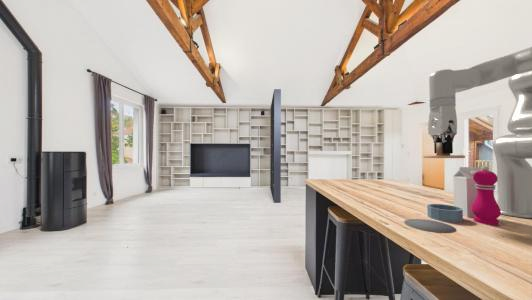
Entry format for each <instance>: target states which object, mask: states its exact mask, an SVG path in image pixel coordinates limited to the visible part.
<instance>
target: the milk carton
mask: <svg viewBox="0 0 532 300" xmlns="http://www.w3.org/2000/svg"><path fill="white" fill-rule="evenodd" d="M477 171H482V169H481V167H480V166H472V167H471V166H469V167H468V166H464V167H463V166H459V169H458V171H457V172H456V173H455V174H454V175H453V183H452V184H453V206H456V207H460V208H462V209H463V217H465V218H473V219H474V216H476V215H475V214H474V213H473V212H472V205H473V203H474V201H475V199H476V197H477V188H475V187H476V185H475V184H477V183H476V182H475V181H474V179H473V175H474V174H475V173H476V172H477Z"/></svg>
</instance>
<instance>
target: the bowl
mask: <svg viewBox="0 0 532 300" xmlns="http://www.w3.org/2000/svg"><path fill="white" fill-rule="evenodd" d="M426 210H427V217H428V218H430V219H431V220H434V221H438V222H444V223H445V222H446V223H458V224H459V223H463V222H464V216H463V209H462V208H460V207H456V206H454V205H451V204H444V203H443V204H442V203H429V204H427V209H426Z"/></svg>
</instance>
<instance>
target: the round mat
mask: <svg viewBox="0 0 532 300" xmlns="http://www.w3.org/2000/svg"><path fill="white" fill-rule="evenodd" d="M403 223H404V225H406V226H408V227H410V228H412V229H416V230H419V231H422V232H427V233H428V232H429V233H435V234H436V233H437V234H452V233H456V232H457V228H456V227H455V226H452V225H450V224H447V223H445V222H442V221H438V220H433V219H423V218H411V219H410V218H409V219H406V220H404V222H403Z"/></svg>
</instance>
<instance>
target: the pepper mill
mask: <svg viewBox="0 0 532 300" xmlns="http://www.w3.org/2000/svg"><path fill="white" fill-rule="evenodd" d="M480 170H481V171H477V172H476V173H475V174H474V175H473V179H474V181H475V182H476V183H477V184H475V185H476V187H475V188H477V197H476V199H475V201H474V203H473V205H472V212H473V213H474V214H475V215H476V216H474V218H473V221H474V222H475V223H478V224H481V225H489V226H495V227H499V226H500V220H499V219H498V218H499V217H500V216H501V215H502V214H501V210H500V208H499V206H498V201H497V200H496V198H495V192H494V191H495V190H496V188H497V187H496V185H495V184H496V183H497V180H498V178H497V174H496V173H495V172H493V171H491V170H490V171H489V167H488V166H487V165H483V166H481V167H480Z"/></svg>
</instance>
